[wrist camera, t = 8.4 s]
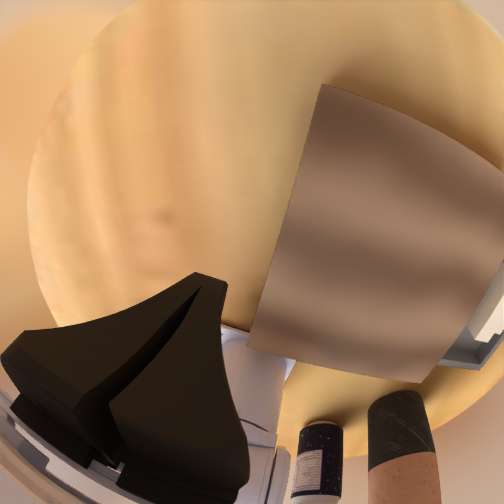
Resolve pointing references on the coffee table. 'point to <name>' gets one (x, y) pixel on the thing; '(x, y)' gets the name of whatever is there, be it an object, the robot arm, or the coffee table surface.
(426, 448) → the travel mug
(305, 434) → the beverage can
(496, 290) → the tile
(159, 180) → the coffee table surface
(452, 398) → the coffee table surface
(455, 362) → the box
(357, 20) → the coffee table surface
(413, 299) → the brown wooden block
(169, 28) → the coffee table surface
